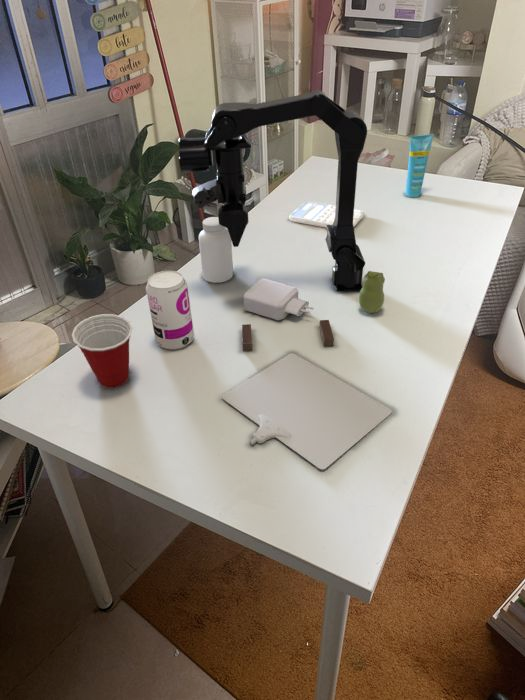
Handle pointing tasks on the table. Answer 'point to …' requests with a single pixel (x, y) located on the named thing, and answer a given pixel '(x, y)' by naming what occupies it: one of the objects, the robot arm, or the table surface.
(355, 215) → the calculator
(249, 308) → the charger
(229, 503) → the table surface
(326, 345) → the bay
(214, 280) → the pill bottle
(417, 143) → the tube
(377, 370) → the table surface
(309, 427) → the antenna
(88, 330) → the plastic cup
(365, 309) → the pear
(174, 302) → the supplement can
